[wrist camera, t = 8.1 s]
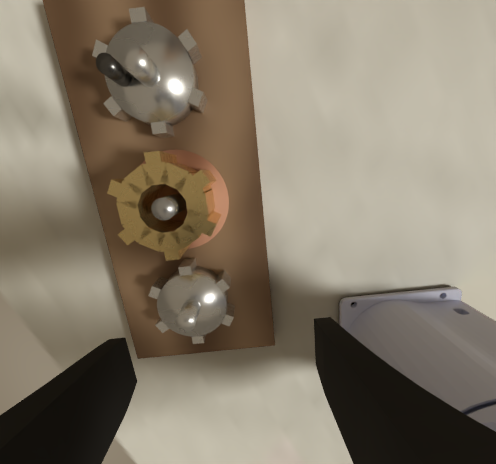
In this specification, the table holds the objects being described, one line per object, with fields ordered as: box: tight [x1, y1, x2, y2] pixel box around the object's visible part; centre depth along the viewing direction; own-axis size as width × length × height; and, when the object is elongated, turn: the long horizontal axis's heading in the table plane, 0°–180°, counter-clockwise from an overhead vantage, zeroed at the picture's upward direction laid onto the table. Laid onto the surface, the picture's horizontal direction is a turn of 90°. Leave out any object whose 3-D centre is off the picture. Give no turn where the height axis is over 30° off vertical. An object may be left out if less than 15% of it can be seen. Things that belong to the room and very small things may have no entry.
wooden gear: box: [107, 151, 221, 261], centre depth 14 cm, size 6×6×3 cm
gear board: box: [43, 0, 275, 359], centre depth 16 cm, size 11×24×1 cm, turn 6°
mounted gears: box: [92, 7, 235, 344], centre depth 14 cm, size 6×20×3 cm, turn 6°
